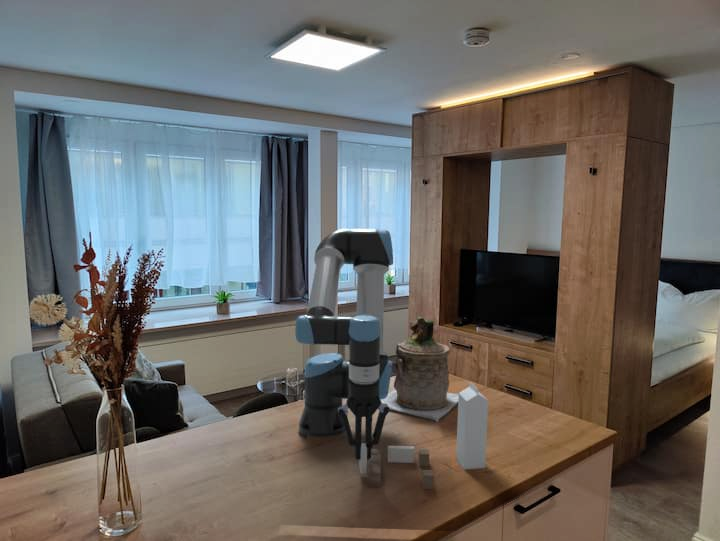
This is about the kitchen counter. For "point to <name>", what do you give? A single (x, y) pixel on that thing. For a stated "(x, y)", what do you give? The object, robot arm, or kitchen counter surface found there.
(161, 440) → the kitchen counter surface
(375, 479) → the hinged leg
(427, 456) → the stool seat
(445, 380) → the cookie jar
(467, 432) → the milk
